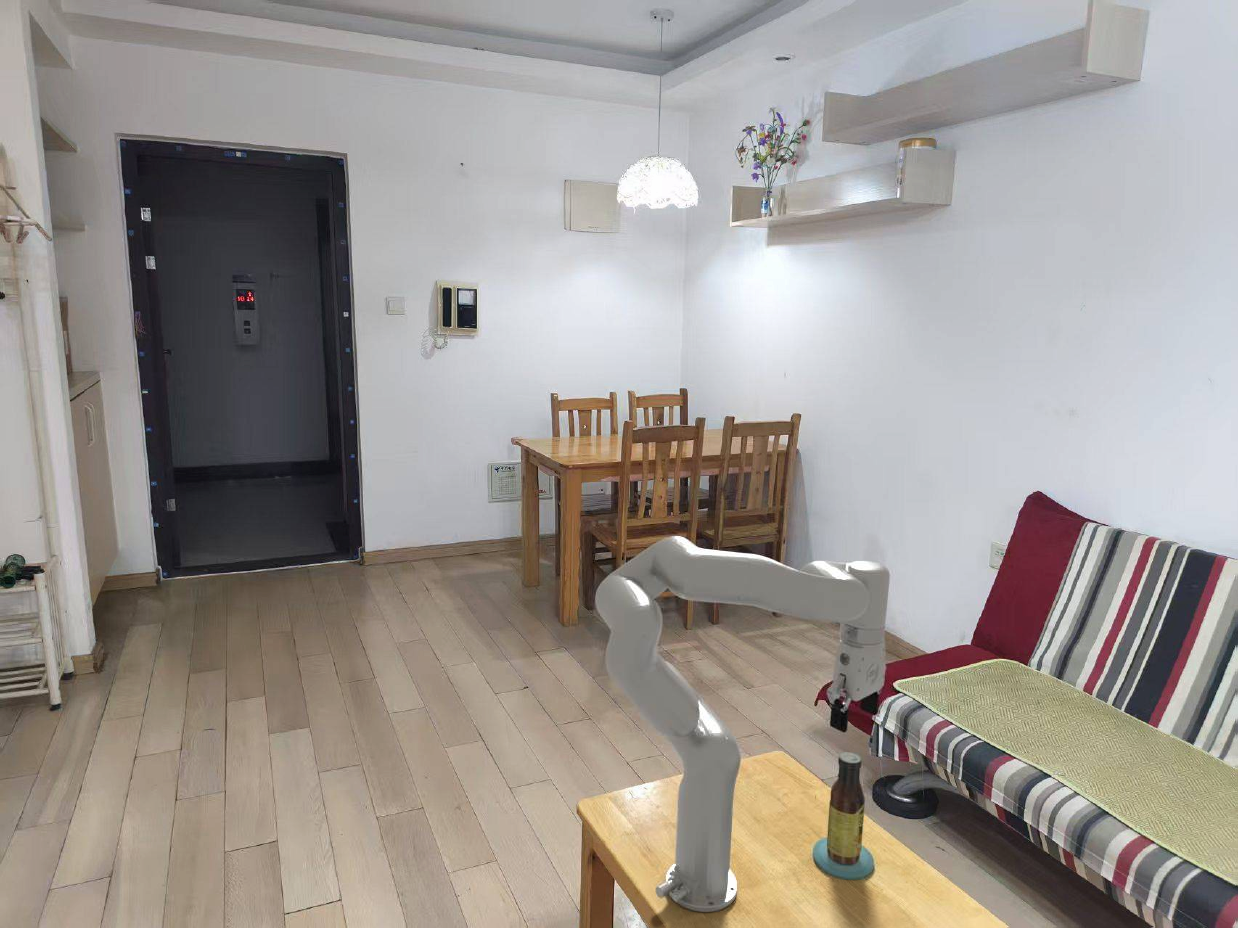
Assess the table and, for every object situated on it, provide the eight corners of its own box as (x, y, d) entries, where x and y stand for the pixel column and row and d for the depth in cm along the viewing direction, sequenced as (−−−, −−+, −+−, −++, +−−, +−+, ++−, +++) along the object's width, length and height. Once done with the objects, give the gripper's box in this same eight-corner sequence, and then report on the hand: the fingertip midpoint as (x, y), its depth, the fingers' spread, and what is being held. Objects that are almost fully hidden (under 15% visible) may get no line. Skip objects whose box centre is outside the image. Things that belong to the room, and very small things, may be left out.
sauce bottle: (864, 867, 148) (873, 769, 144) (830, 866, 148) (838, 767, 144) (855, 844, 154) (863, 749, 150) (822, 843, 154) (830, 748, 150)
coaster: (852, 888, 143) (852, 884, 143) (800, 856, 151) (801, 852, 151) (885, 862, 151) (885, 857, 150) (834, 832, 159) (834, 828, 158)
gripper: (852, 651, 134) (844, 745, 137) (907, 626, 145) (897, 713, 149) (815, 636, 140) (807, 727, 143) (870, 614, 151) (862, 698, 154)
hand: (853, 720), depth 146 cm, fingers open, 9 cm apart
